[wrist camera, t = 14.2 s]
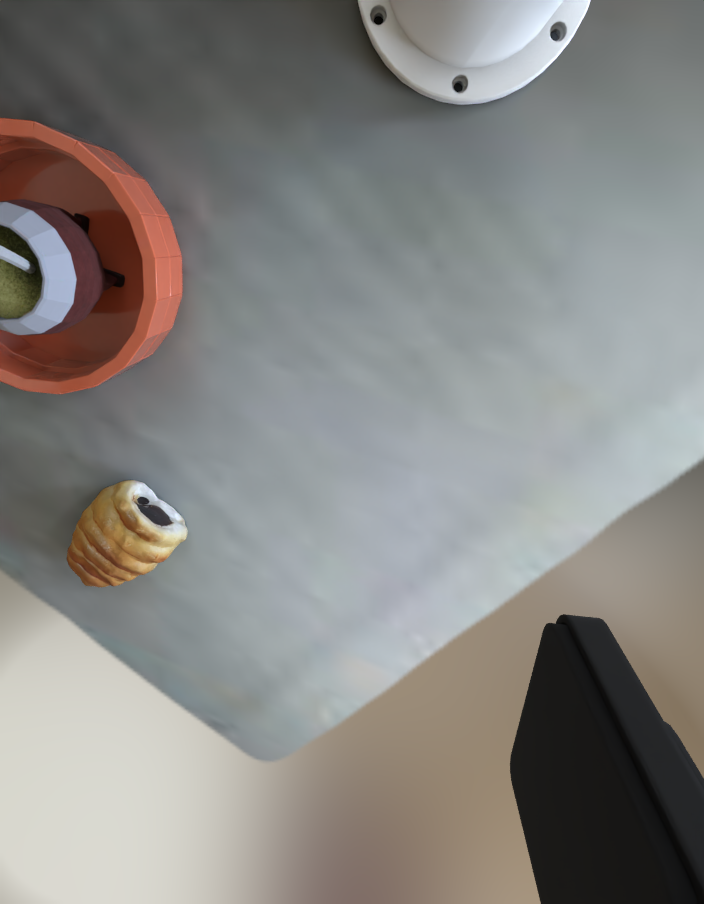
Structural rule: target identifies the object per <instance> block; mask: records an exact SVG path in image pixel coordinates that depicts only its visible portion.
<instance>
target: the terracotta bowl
mask: <svg viewBox="0 0 704 904" xmlns="http://www.w3.org/2000/svg"><path fill="white" fill-rule="evenodd" d="M16 199H26V200H30V201H34V202H39V203H43V204H48V205H52V206H56V207H59V208H62V209H64V210H66V211H67V212H69V213H70V214H72V215H73V216H74V214H75V213H78V214H81V215H84V216H87V217H88V218H89V230H88V236H89V237H90V239H91V241H92V242H93V244H94V246H95V247H96V249H97V250H98V252H99V254H100V258H101V261H102V265H103V268H105V269H108V270H111V271H114V272H117V273H120V274H122V275H124V277H125V282H124V286H123V287H121V288H120V287H115V286H112V287H111V288H109V289H107V290H105V291H104V292H103V293H102V295H101V297H100V300H99V301H98V302H97V304H96V305H95V306H94V308H93V309H92V310H91V312H90V313H89V314H88V316H87V317H86V318H85V319H84V320H82V321H80V322H78V323H76V324H75V325H73V326H71V327H69V328H67V329H66V330H64V331H62V332H60V333H54V334H43V335H30V336H28V335H16V334H13V333H10V332H7V331H4V330H1V329H0V381H1V382H4V383H6V384H9V385H11V386H13V387H16V388H18V389H21V390H24V391H32V392H42V393H52V394H65V393H70V392H74V391H79V390H83V389H88V388H92V387H96V386H98V385H100V384H102V383H104V382H106V381H108V380H110V379H112V378H114V377H116V376H118V375H120V374H122V373H124V372H125V371H127V370H129V369H130V368H132V367H134V366H135V365H137V364H138V363H140V362H141V361H143V360H144V359H146V358H147V357H149V356H151V355H152V353H154V352H155V350H156V349H157V348H158V346H159V345H160V344H161V342H162V341H163V339H164V338H165V337H166V335H167V334H168V333H169V331H170V330H171V328H172V327H173V324H174V321H175V317H176V314H177V311H178V308H179V304H180V301H181V298H182V256H181V252H180V249H179V245H178V242H177V239H176V236H175V233H174V229H173V226H172V223H171V220H170V218H169V215H168V214H167V212H166V211H165V209H164V207H163V206H162V204H161V203H160V201H159V200H158V198H157V197H156V195H155V194H154V192H153V190H152V189H151V187H150V186H149V184H148V183H147V182H146V180H145V179H144V178H143V177H141V176H140V175H139V174H138V173H137V172H136V171H135V170H133V169H132V168H131V167H130V166H129V165H128V164H127V163H125V162H124V161H123V160H122V159H121V158H120V157H119V156H117V155H116V154H115V153H114V152H112V151H110V150H108V149H105V148H103V147H101V146H99V145H97V144H94V143H92V142H90V141H88V140H86V139H83V138H81V137H79V136H77V135H74V134H71V133H68V132H65V131H62V130H59V129H56V128H53V127H50V126H47V125H44V124H41V123H39V122H35V121H30V120H20V119H9V118H0V201H7V200H16Z"/></svg>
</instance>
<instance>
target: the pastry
mask: <svg viewBox="0 0 704 904" xmlns="http://www.w3.org/2000/svg"><path fill="white" fill-rule="evenodd" d="M186 537H187V528H186V526H185V521H184V519H183V518H182V516H181V515H180V514H179V513H178V512H176V510H175V509H174V508H173V507H171V506H169V505H168V504H167V503H165V502H164V501H162V500H160V499H158V498H157V497H156V495H155V494H154V492H153V491H152V490H151V489H150V488H149V487H148V486H147V485H145V484H144V483H142V482H139V481H135V480H127V481H122V482H119V483H117V484H115V485H112V486H110V487H107V488H104V489H103V490H102V491H101V492H100V493H99V494H98V496H97V497H96V499H95V500H94V501H93V502H92V503H91V505H90V506H89V507H87V508H86V509H85V510H84V511H83V513H82V516H81V518H80V520H79V521H78V523H77V525H76V530H75V531H74V533H73V538H72V543H71V545H70V547H69V548H68V553H67V561H68V564H69V566H70V568H71V569H72V570H73V571H74V572H75V573H76V574H77V575H78V576H79V577H80V578H81V581H82V582H83V583H84V585H86V586H96V587H106V586H109V585H111V586H117V585H120V584H122V583H123V582H125V581H130V580H132V579H134V578H135V577H137V576H138V575H144V574H146V573H148V572H150V571H152V570H153V569H154V568H155V567H156V565H157V563H160V562H163V561H164V560H166V559H167V558H168V557H169V555H170V554H171V553H172V552H173V550H174V549H175V548H176V546H177V545H178V544H179V543H181V542H183V541H185V540H186Z"/></svg>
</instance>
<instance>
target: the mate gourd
mask: <svg viewBox="0 0 704 904" xmlns="http://www.w3.org/2000/svg"><path fill="white" fill-rule="evenodd" d="M88 230H89V218H88V217H87V216H84V215H81V214H78V213H75V214H74V216H73V215H72V214H70V213H69V212H67V211H66V210H64V209H62V208H59V207H56V206H52V205H48V204H43V203H39V202H34V201H30V200H26V199H16V200H7V201H0V329H1V330H4V331H7V332H10V333H13V334H16V335H28V336H30V335H43V334H54V333H60V332H62V331H64V330H66V329H67V328H69V327H71V326H73V325H75V324H76V323H78V322H80V321H82V320H84V319H85V318H86V317H87V316H88V314H89V313H90V312H91V310H92V309H93V308H94V306H95V305H96V304H97V302H98V301H99V300H100V297H101V295H102V293H103V292H104V291H105V290H107V289H109V288H111V287H112V286H115V287H120V288H121V287H123V286H124V282H125V277H124V275H122V274H120V273H117V272H114V271H111V270H108V269H105V268H103V265H102V261H101V258H100V254H99V252H98V250H97V249H96V247H95V246H94V244H93V242H92V241H91V239H90V237H89V236H88Z"/></svg>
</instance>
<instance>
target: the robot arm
mask: <svg viewBox="0 0 704 904" xmlns="http://www.w3.org/2000/svg"><path fill="white" fill-rule="evenodd" d="M590 1H591V0H358V4H359V9H360V13H361V17H362V21H363V24H364V26H365V29H366V31H367V33H368V36H369V38H370V40H371V43H372V45H373V47H374V48H375V50H376V51H377V53H378V54H379V56H380V57H381V59H382V60H383V62H384V63H385V65H386V66H387V67H388V68H389V69H390V70H391V71H392V72H393V73H394V74H395V75H396V76H397V77H398V78H399V79H400V80H401V81H402V82H403V83H404V84H406V85H407V86H409V87H410V88H412V89H413V90H415V91H416V92H418V93H419V94H421V95H424V96H427V97H429V98H432V99H434V100H437V101H439V102H445V103H452V104H459V105H466V104H480V103H485V102H489V101H492V100H495V99H499V98H502V97H505V96H507V95H509V94H511V93H513V92H514V91H516V90H518V89H520V88H522V87H524V86H525V85H527V84H528V83H529V82H530V81H532V80H533V79H534V78H536V77H537V76H538V75H539V74H541V73H542V72H543V71H544V70H545V69H546V68H547V67H548V66H549V65H550V64H551V63H552V62H553V61H554V60H555V59H556V58H557V57H558V56H559V54H560V53H561V52H562V51H563V49H564V48H565V47H566V46H567V44H568V43H569V42H570V40H571V39H572V37H573V36H574V34H575V32H576V30H577V28H578V26H579V25H580V23H581V21H582V19H583V17H584V15H585V14H586V12H587V9H588V6H589V3H590ZM376 16H380V17H382V18H383V23H382V24H380V25H377V24H375V23H374V19H375V17H376ZM551 32H556V33H557V35H558V39H557V41H554V40H552V38H551V37H550V34H551ZM456 83H460V84H461V85H462V91H461V92H456V91H455V90H454V85H455V84H456ZM510 773H511V781H512V786H513V790H514V794H515V798H516V802H517V806H518V810H519V814H520V819H521V823H522V827H523V831H524V835H525V839H526V844H527V848H528V852H529V856H530V860H531V864H532V869H533V873H534V877H535V881H536V885H537V889H538V893H539V897H540V901H541V904H704V778H703V777H702V775H701V774H700V772H699V770H698V768H697V767H696V765H695V763H694V762H693V760H692V758H691V757H690V755H689V754H688V752H687V751H686V749H685V747H684V745H683V743H682V742H681V740H680V738H679V737H678V735H677V734H676V733H675V731H674V730H673V729H672V727H671V726H670V725H669V724H667V723H666V722H664V721H663V719H662V717H661V716H660V714H659V713H658V711H657V709H656V707H655V706H654V704H653V702H652V701H651V699H650V697H649V696H648V694H647V692H646V691H645V689H644V687H643V685H642V684H641V682H640V680H639V678H638V677H637V675H636V673H635V672H634V670H633V668H632V667H631V665H630V663H629V661H628V660H627V658H626V656H625V655H624V653H623V651H622V649H621V648H620V646H619V644H618V643H617V641H616V639H615V638H614V636H613V634H612V632H611V631H610V629H609V627H608V626H607V624H606V623H605V622H604V621H603V620H602V619H600V618H592V617H582V616H573V615H564V614H563V615H561V616H559V618H558V619H557V621H556V624H553V623H548V624H546V626H545V627H544V630H543V633H542V637H541V641H540V645H539V649H538V653H537V656H536V660H535V664H534V668H533V672H532V676H531V680H530V683H529V687H528V691H527V695H526V699H525V703H524V707H523V710H522V714H521V718H520V722H519V726H518V730H517V734H516V737H515V742H514V745H513V749H512V754H511V761H510Z"/></svg>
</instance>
